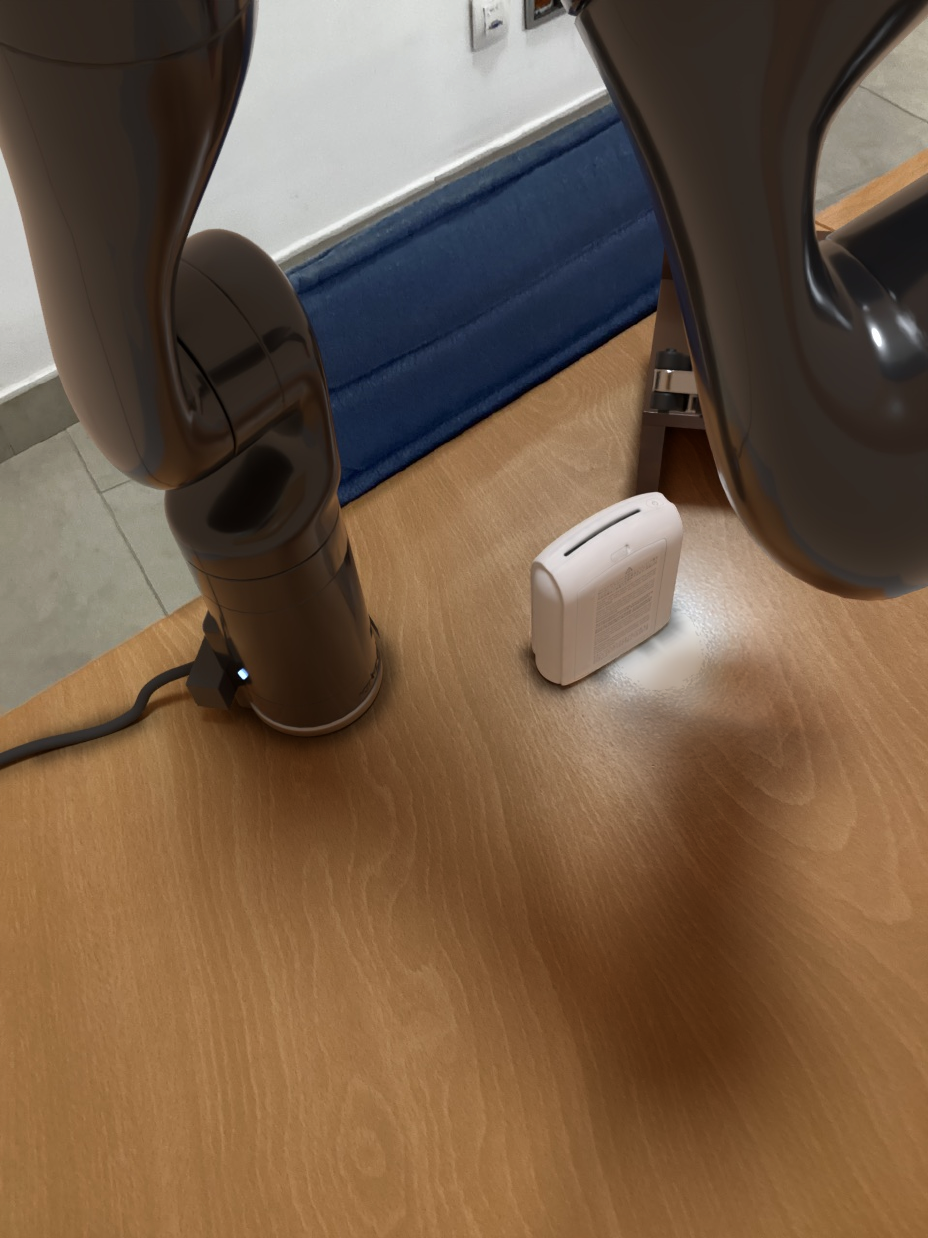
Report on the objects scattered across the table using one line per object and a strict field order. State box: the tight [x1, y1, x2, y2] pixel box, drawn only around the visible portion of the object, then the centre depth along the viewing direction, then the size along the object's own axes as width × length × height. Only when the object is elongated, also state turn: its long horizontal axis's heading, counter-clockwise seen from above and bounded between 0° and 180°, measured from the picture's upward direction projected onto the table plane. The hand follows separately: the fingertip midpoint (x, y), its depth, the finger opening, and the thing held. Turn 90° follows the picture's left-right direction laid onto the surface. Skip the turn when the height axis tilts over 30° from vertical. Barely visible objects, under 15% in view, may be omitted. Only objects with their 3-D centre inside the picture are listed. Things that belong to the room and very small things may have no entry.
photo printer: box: [529, 491, 685, 686], centre depth 68 cm, size 10×4×12 cm, turn 123°
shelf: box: [634, 229, 835, 496], centre depth 77 cm, size 16×15×14 cm
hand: (787, 399), depth 53 cm, fingers closed on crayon, 3 cm apart
